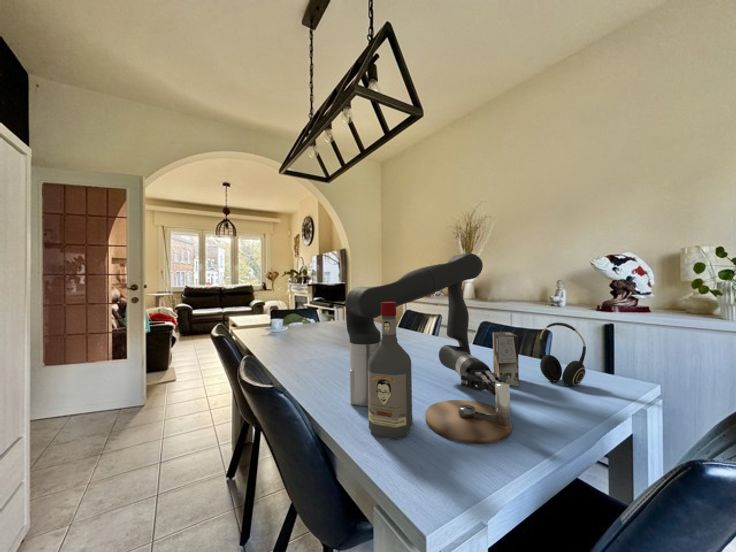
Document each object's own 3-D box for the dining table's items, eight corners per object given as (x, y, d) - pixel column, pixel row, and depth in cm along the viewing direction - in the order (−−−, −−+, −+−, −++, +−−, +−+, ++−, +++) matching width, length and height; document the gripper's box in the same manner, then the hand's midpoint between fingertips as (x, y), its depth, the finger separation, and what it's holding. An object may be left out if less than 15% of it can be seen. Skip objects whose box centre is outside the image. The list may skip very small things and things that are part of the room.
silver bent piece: (455, 415, 76) (454, 377, 76) (462, 409, 79) (461, 373, 79) (507, 429, 68) (506, 388, 68) (512, 422, 71) (511, 383, 71)
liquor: (379, 418, 79) (376, 300, 79) (414, 423, 76) (411, 301, 76) (365, 435, 70) (363, 303, 71) (404, 442, 67) (402, 304, 67)
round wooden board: (437, 446, 65) (437, 437, 65) (417, 406, 85) (417, 400, 85) (529, 441, 66) (529, 433, 66) (488, 404, 86) (488, 397, 86)
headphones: (548, 375, 111) (546, 319, 111) (594, 387, 97) (592, 324, 98) (532, 379, 106) (531, 321, 107) (579, 392, 93) (577, 326, 94)
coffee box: (519, 386, 100) (518, 336, 100) (498, 385, 101) (497, 335, 101) (512, 377, 109) (511, 331, 109) (493, 376, 110) (492, 331, 110)
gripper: (449, 358, 89) (470, 377, 72) (494, 357, 90) (526, 375, 72) (449, 384, 89) (471, 409, 72) (495, 382, 90) (527, 407, 72)
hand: (499, 392), depth 72 cm, fingers closed
